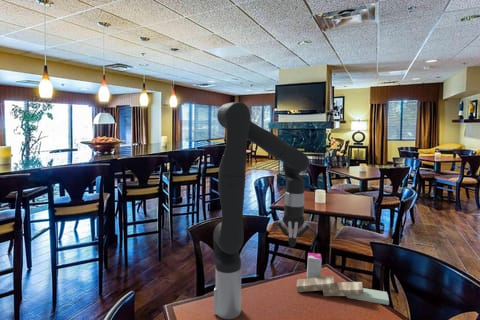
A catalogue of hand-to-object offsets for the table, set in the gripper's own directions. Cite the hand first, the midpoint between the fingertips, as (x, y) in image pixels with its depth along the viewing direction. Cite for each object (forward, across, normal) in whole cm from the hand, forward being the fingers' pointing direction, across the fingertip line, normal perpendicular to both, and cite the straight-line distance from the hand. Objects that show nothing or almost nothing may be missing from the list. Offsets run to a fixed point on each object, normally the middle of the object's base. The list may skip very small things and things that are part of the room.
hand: (292, 246), depth 120 cm
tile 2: (+18, +13, +4) cm, 23 cm away
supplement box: (+20, +9, +13) cm, 25 cm away
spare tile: (+19, +22, +5) cm, 30 cm away
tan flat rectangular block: (+19, +3, +4) cm, 19 cm away
